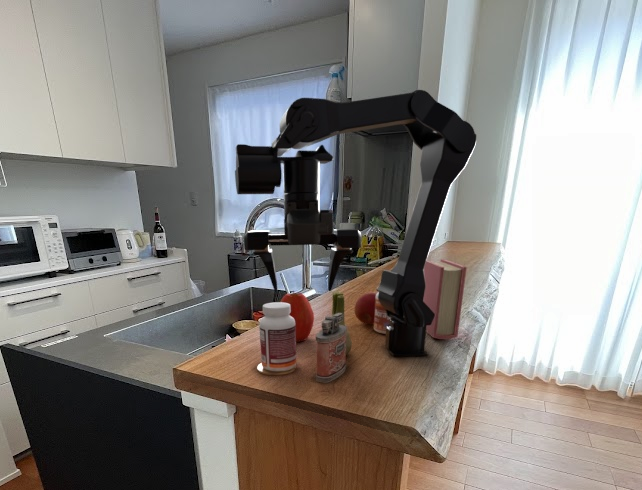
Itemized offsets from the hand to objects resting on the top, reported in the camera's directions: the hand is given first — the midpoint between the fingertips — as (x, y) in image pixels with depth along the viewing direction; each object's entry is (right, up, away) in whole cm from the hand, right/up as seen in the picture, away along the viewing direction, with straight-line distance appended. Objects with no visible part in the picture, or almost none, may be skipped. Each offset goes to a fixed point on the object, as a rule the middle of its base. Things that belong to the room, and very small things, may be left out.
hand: (302, 291), depth 66 cm
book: (+28, +1, +18) cm, 33 cm away
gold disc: (-5, -13, +2) cm, 14 cm away
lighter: (+5, -14, -1) cm, 15 cm away
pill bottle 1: (-4, -13, +2) cm, 14 cm away
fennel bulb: (+7, -11, +8) cm, 15 cm away
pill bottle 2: (+20, -6, +21) cm, 30 cm away
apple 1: (-1, -8, +17) cm, 19 cm away
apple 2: (+18, -3, +23) cm, 30 cm away
